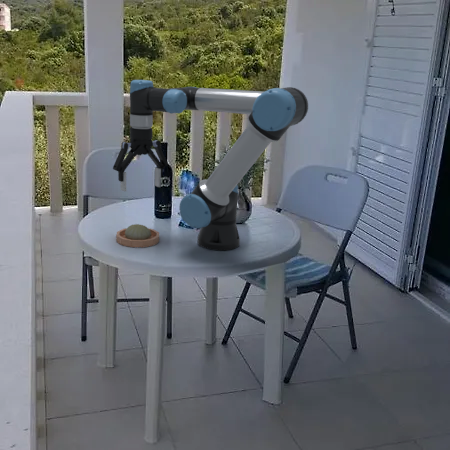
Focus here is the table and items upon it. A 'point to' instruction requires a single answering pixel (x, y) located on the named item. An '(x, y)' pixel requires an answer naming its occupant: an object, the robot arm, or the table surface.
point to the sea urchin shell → (137, 232)
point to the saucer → (137, 243)
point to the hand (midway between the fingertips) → (140, 188)
